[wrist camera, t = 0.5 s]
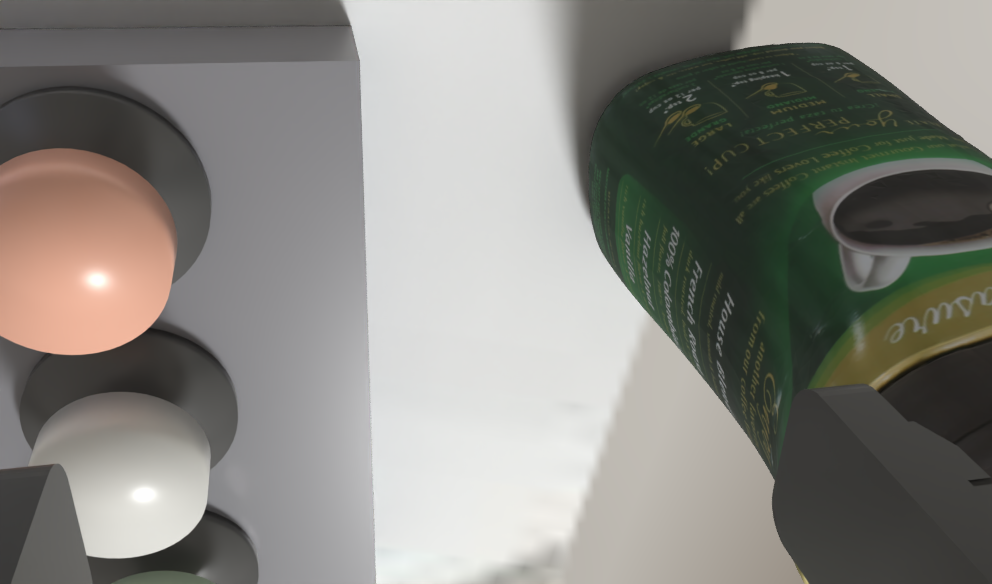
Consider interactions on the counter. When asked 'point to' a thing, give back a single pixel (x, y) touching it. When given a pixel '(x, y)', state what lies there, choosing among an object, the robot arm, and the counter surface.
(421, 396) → the counter surface
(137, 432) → the white button
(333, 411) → the button panel
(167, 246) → the terracotta button
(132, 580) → the sage button
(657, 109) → the coffee jar
